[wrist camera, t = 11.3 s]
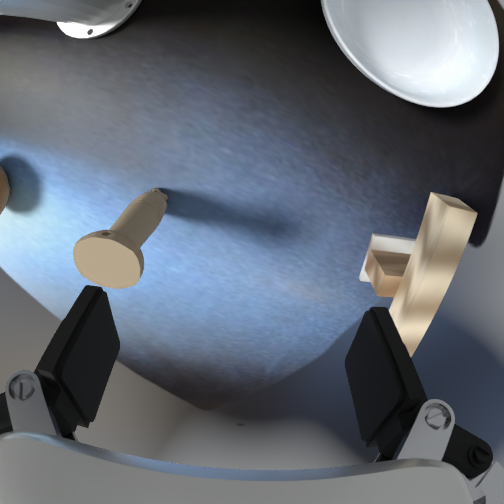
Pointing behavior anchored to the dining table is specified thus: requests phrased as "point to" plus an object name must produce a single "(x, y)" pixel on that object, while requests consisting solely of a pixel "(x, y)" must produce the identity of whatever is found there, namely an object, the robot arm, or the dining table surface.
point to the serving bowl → (419, 46)
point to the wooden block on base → (386, 263)
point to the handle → (121, 243)
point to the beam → (431, 266)
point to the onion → (4, 189)
